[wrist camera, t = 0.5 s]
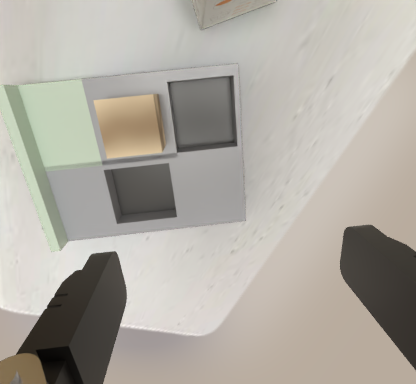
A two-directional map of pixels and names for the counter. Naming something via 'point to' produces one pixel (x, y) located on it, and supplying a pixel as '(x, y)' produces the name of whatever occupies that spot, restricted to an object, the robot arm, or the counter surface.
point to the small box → (223, 10)
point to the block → (131, 125)
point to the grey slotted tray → (131, 165)
